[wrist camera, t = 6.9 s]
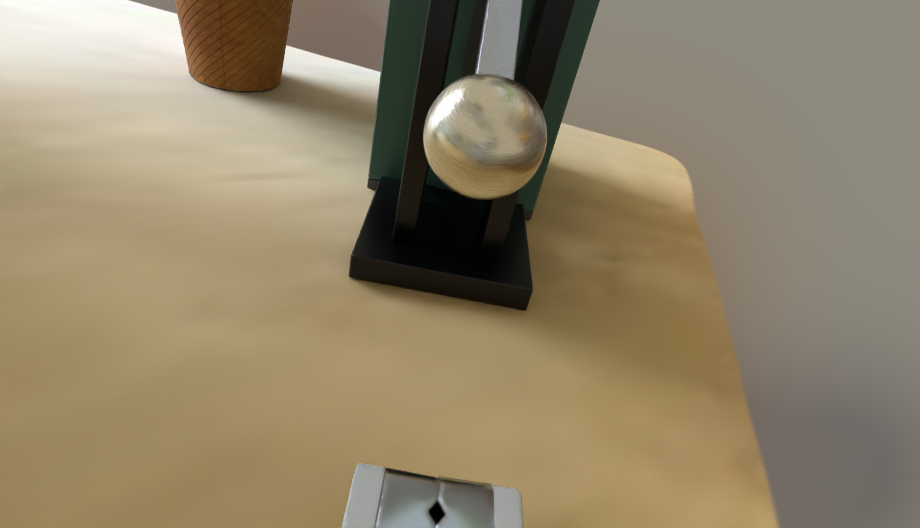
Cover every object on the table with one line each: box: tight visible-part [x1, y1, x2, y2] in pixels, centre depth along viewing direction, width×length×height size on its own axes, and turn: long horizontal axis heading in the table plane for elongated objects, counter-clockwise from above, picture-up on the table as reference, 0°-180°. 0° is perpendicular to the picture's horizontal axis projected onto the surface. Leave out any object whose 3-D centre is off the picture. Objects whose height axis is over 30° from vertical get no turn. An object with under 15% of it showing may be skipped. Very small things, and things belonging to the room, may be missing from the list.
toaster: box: [367, 0, 600, 220], centre depth 32 cm, size 10×10×14 cm
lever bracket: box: [349, 0, 575, 310], centre depth 23 cm, size 8×8×16 cm
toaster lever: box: [423, 0, 547, 200], centre depth 18 cm, size 13×3×3 cm, turn 177°
